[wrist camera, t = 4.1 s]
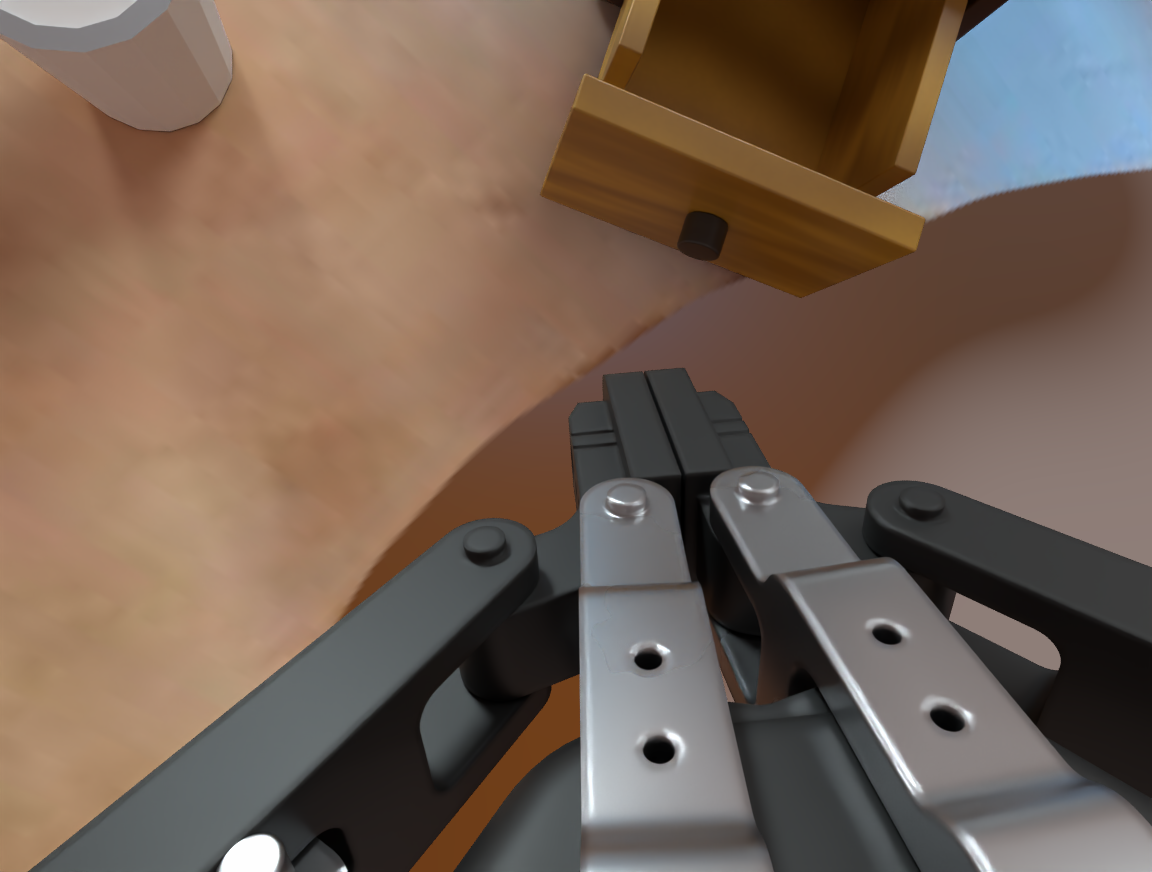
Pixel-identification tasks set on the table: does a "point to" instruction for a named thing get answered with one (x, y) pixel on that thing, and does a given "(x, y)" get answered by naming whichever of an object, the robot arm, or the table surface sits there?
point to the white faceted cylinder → (128, 54)
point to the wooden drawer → (760, 131)
